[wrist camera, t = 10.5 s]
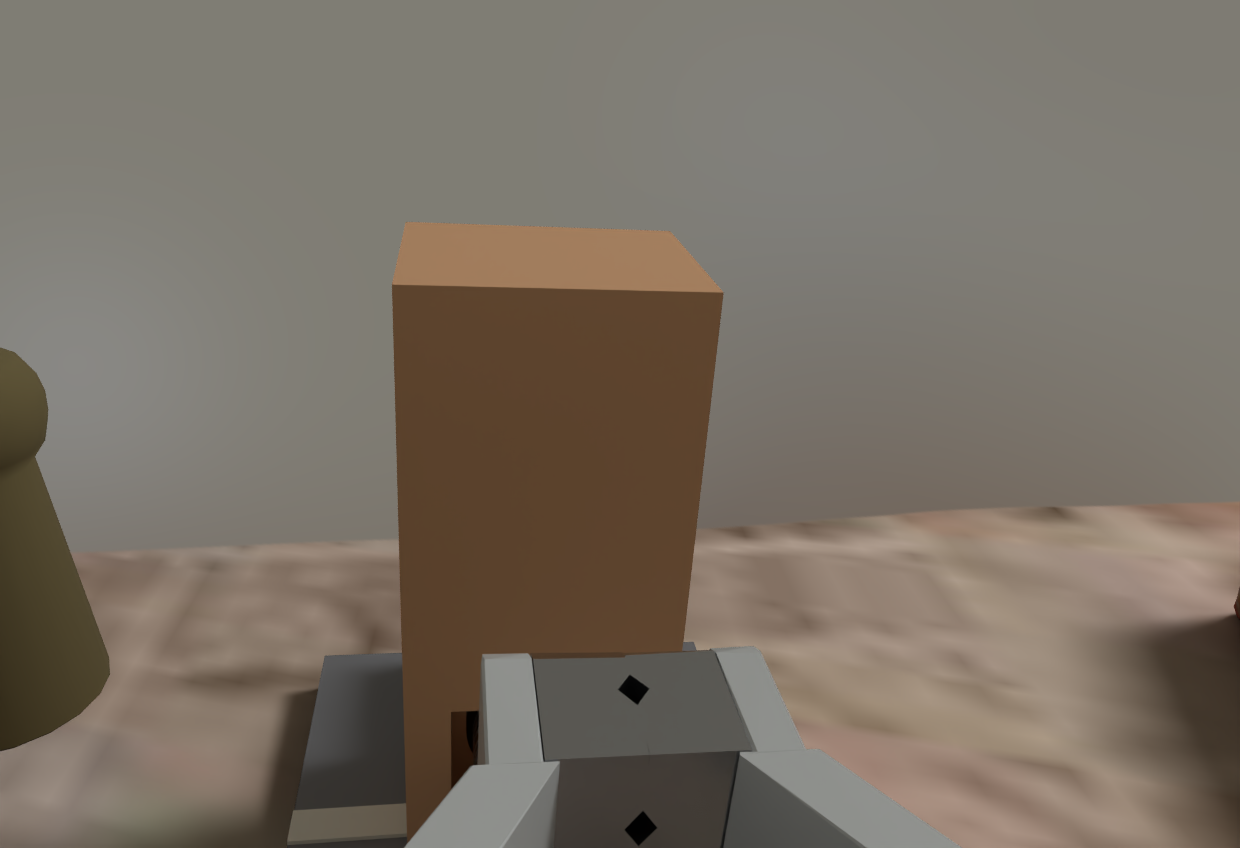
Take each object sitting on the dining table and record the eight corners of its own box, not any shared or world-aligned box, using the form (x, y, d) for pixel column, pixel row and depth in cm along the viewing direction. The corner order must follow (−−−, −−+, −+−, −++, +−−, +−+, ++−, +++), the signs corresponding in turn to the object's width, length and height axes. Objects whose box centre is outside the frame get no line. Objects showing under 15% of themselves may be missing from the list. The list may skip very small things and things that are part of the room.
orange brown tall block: (658, 860, 24) (723, 291, 18) (408, 879, 23) (391, 284, 17) (626, 720, 28) (669, 231, 22) (416, 731, 27) (405, 222, 21)
